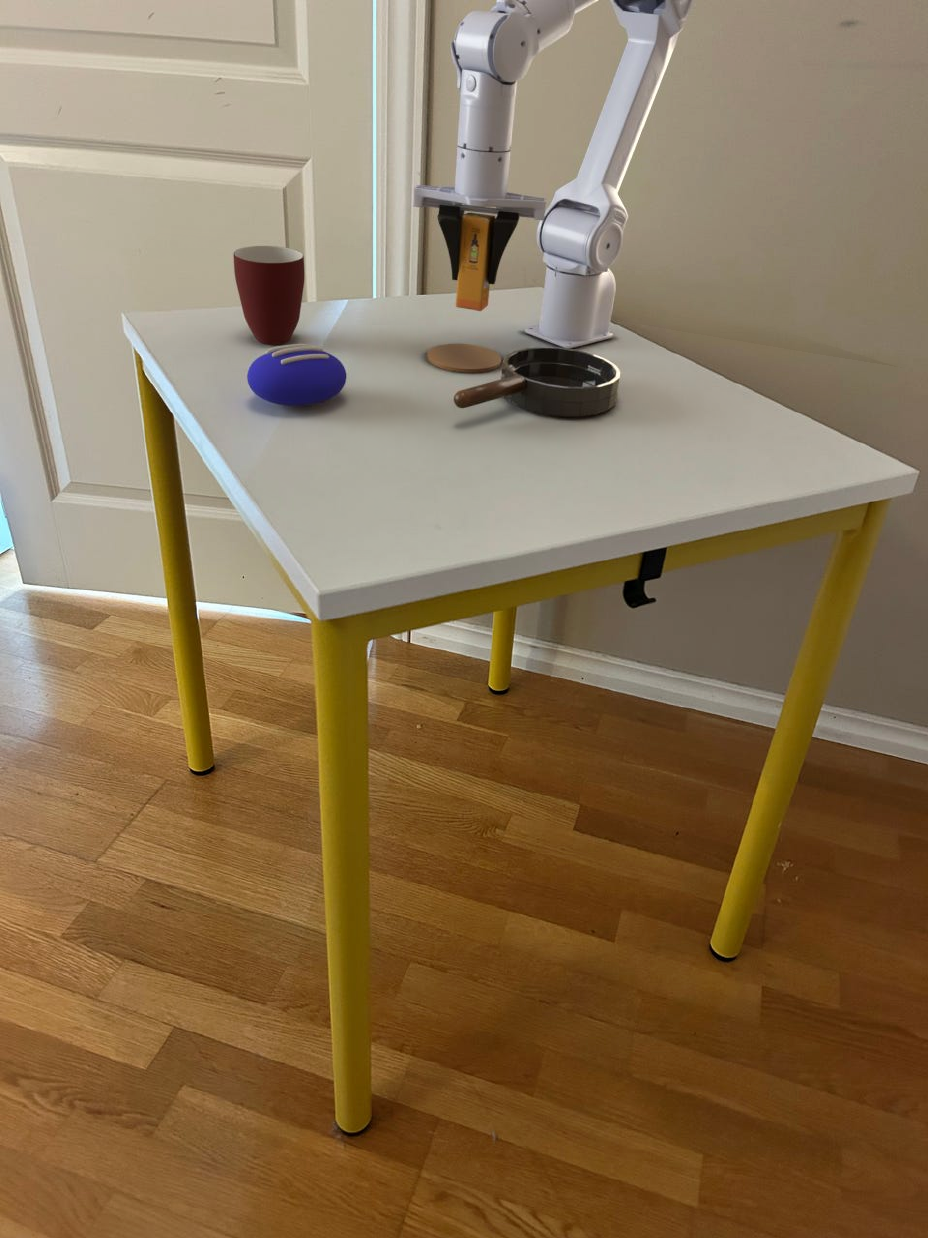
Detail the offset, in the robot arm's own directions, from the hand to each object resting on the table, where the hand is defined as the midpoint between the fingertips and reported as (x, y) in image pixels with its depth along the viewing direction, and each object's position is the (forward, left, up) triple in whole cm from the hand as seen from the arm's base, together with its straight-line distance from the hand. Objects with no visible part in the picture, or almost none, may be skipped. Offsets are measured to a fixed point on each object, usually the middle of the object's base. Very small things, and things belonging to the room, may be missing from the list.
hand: (473, 279), depth 102 cm
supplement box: (0, 0, -3) cm, 3 cm away
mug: (+15, -19, -10) cm, 26 cm away
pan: (-1, +14, -10) cm, 17 cm away
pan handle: (+10, +14, -8) cm, 19 cm away
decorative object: (+24, -1, -10) cm, 26 cm away
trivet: (0, 0, -10) cm, 10 cm away
